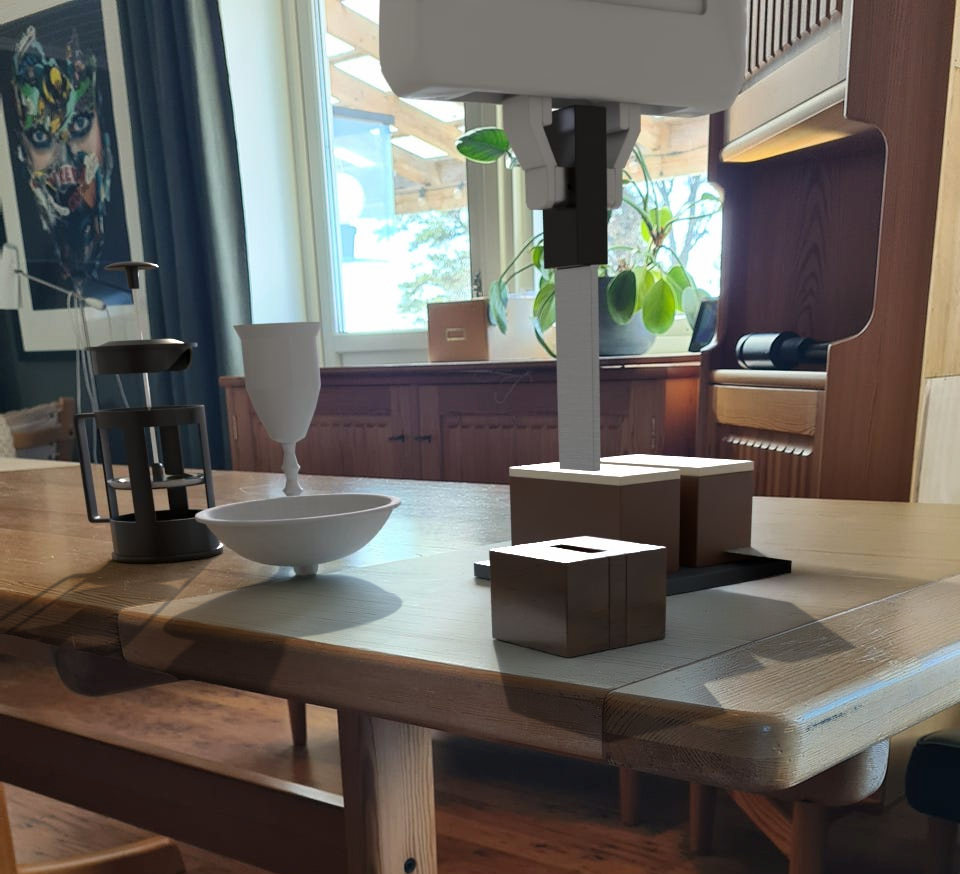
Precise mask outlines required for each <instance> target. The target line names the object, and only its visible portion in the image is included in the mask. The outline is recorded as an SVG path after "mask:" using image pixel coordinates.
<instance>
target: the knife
mask: <svg viewBox="0 0 960 874" xmlns="http://www.w3.org/2000/svg"><path fill="white" fill-rule="evenodd" d="M543 129H544V131H545V134H546V137H547V139H548V142H549V145H550V147H551V150H552V153H553V155H554V158H555V161H556V163H557V166H561V167H569V176H570V183H569V185H568V189H569V191H570V200H569V203H568V206H567V207H566V208H562V209H556V210H541V211H542V243H543V244H542V245H543V247H542V248H543V269H544V270H553V272H554V277H553V278H554V308H555V309H554V313H555V314H554V317H555V350H556V351H555V352H556V353H555V354H556V391H557V393H556V394H557V396H556V397H557V430H558V432H557V434H558V435H557V436H558V462H559V469H563V470H577V471H592V472H595V471H600V470H601V458H602V457H601V399H600V398H601V397H600V395H601V393H600V387H601V386H600V326H599V325H600V321H599V319H600V318H599V314H600V313H599V267H600V266H607V265H608V264H609V234H608V211H607V130H606V107H601V106H587V105H572V106H568V107H565V108H561V109H553V110H552V123H551V125H548V126H544V127H543Z"/></svg>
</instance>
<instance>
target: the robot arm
mask: <svg viewBox="0 0 960 874" xmlns="http://www.w3.org/2000/svg"><path fill="white" fill-rule="evenodd" d="M378 8H379V9H378V10H379V11H378V56H379V68H380V72H381V75H382V76H383V78H384V79H385V82H386V83H387V84H388V86H389V88H390V89H391V92H392V93H393V94H394V96H396V97H397V98H399V99H404V100H419V101H420V100H421V101H432V102H433V101H434V102H448V103H449V102H450V103H463V104H464V103H465V104H476V105H477V104H478V105H480V104H481V105H490V106H491V105H492V106H493V105H494V106H502V123H503V124H502V126H503V133H504V135H505V138H506V139H507V142H508V143H509V145H510V147H511V150H512V152H513V154H514V156H515V157H516V160H517V162H518V164H519V166H520V168H521V170H522V171H524V186H525V187H524V188H525V190H524V191H525V204H526V207H527V208H528V209H529V210H530V211H542V210H556V209H562V208H566V207H567V206H568V203H569V200H570V191H569V189H568V185H569V183H570V176H569V167H561V166H557V163H556V161H555V158H554V155H553V153H552V150H551V147H550V145H549V142H548V139H547V137H546V134H545V131H544V129H543V127H544V126H548V125H551V123H552V111H553V110H558V109H561V108H565V107H568V106H572V105H587V106H601V107H606V130H607V212H609V211H615V210H619V209H620V207H621V206H622V204H623V200H624V198H623V195H624V193H623V189H624V188H623V187H624V185H623V183H624V182H623V181H624V180H623V177H624V176H623V170H624V169H625V168H626V166H627V163H628V161H629V160H630V157H631V155H632V152H633V150H634V148H635V146H636V143H637V140H638V139H639V137H640V134H641V132H642V116H654V117H668V118H681V119H693V118H694V119H695V118H699V117H703V116H704V117H705V116H709V115H712V114H716V113H719V112H722V111H726V110H729V109H731V108H732V106H733V105H734V103H735V102H736V100H737V98H738V96H739V94H740V92H741V91H742V88H743V85H744V83H745V75H746V66H747V65H746V64H747V41H748V40H747V39H748V38H747V36H748V35H747V33H748V14H747V13H748V9H747V8H748V6H747V0H379V7H378Z"/></svg>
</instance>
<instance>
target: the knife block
mask: <svg viewBox="0 0 960 874" xmlns="http://www.w3.org/2000/svg"><path fill="white" fill-rule="evenodd" d="M488 561H489V563H490V579H489V585H490V587H489V589H490V613H491V615H490V617H491V637H492V639H495V640H499V641H502V642H506V643H510V644H514V645H518V646H521V647H525V648H530V649H533V650H537V651H540V652H545V653H549V654H553V655H555V656H560V657H563V658H572V657H579V656H583V655H588V654H592V653H598V652H601V651H602V652H603V651H606V650H613V649H616V648H623V647H628V646H632V645H638V644H644V643H648V642H652V641H657V640H663V639H666V636H667V635H666V634H667V633H666V632H667V631H666V630H667V596H666V569H667V548H666V547H661V546H654V545H646V544H639V543H632V542H625V541H618V540H610V539H603V538H596V537H589V536H582V537H575V538H568V539H561V540H554V541H548V542H541V543H534V544H527V545H520V546H513V547H511V546H507V547H500V548H492V549H489V550H488ZM662 638H663V639H662Z"/></svg>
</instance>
